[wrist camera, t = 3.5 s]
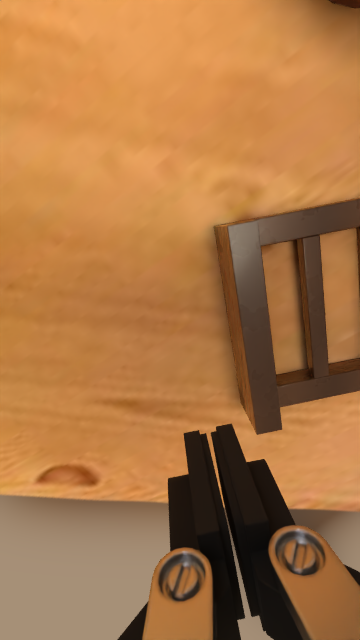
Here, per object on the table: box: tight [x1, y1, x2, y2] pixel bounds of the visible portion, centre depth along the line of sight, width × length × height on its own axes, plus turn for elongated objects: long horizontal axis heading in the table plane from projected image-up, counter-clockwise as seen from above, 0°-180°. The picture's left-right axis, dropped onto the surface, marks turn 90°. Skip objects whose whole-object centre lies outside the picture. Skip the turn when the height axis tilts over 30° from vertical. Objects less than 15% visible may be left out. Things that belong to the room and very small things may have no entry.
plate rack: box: [214, 198, 360, 435], centre depth 22 cm, size 12×14×8 cm
